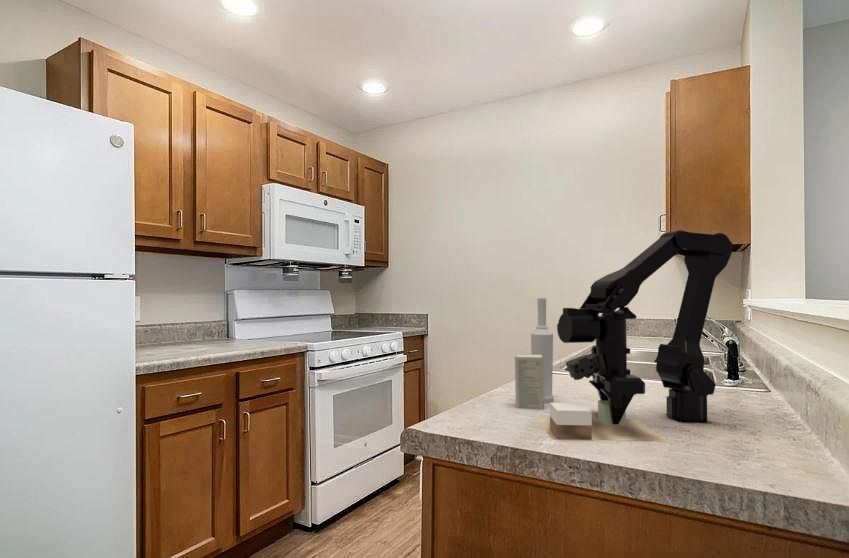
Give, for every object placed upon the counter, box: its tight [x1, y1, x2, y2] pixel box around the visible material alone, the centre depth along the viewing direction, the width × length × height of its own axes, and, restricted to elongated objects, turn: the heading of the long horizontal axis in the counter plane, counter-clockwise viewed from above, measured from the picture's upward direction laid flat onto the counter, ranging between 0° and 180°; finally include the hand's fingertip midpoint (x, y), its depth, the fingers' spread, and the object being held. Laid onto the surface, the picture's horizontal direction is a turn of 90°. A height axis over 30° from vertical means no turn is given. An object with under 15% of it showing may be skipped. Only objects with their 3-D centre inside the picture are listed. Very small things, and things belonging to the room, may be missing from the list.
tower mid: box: [549, 402, 593, 425], centre depth 87 cm, size 6×6×2 cm
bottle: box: [530, 297, 554, 404], centre depth 114 cm, size 5×5×25 cm
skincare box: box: [514, 353, 545, 410], centre depth 108 cm, size 6×4×12 cm
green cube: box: [597, 400, 627, 426], centre depth 94 cm, size 4×4×4 cm
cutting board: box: [536, 417, 669, 443], centre depth 90 cm, size 20×14×1 cm
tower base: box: [549, 416, 593, 441], centre depth 87 cm, size 6×6×2 cm
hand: (611, 421), depth 94 cm, fingers closed on green cube, 4 cm apart
